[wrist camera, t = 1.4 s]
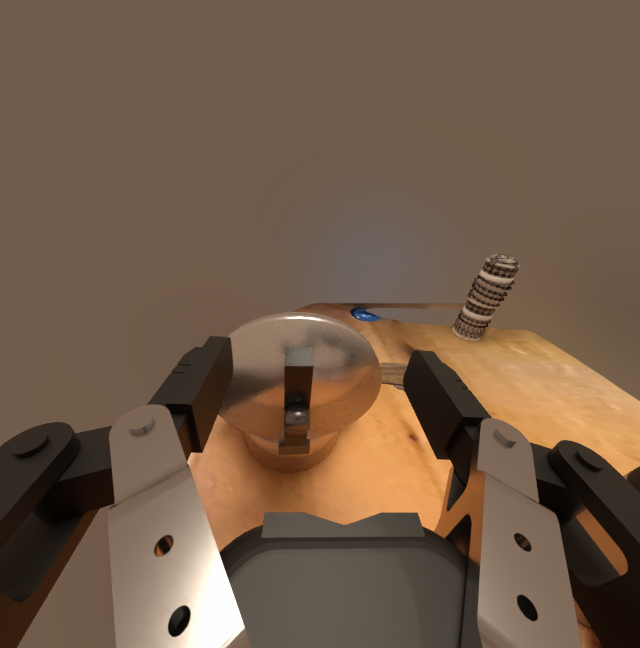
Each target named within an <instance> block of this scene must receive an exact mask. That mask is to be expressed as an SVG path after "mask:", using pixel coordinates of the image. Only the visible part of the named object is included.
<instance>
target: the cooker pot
mask: <svg viewBox="0 0 640 648" xmlns="http://www.w3.org/2000/svg"><path fill="white" fill-rule="evenodd" d="M338 433H339V431H336V432H334V433H331V434H328V435H324V436H321V437H316V438H311V439H307V442H306V446H285V447H284V440H275V439H268V438H263V437H259V436H255V435H252V434H249V433H246V432H245V437H246V442H247V445H248V448H249V449H250V451H251V453H252V454H253V456H254V457H255V458H256V459H257V460H258V461H259V462H260V463H262V464H263V465H265V466H267V467H269V468H271V469H273V470H277V471H281V472H299V471H303V470H307V469H309V468H311V467H314V466H315V465H317V464H319V463H320V462H321V461H323V460H324V459H325V458H326V457H327V456H328V455H329V453H330V452H331V451H332V449H333V447H334V445H335V443H336V440H337V437H338Z"/></svg>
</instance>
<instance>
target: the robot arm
mask: <svg viewBox="0 0 640 648" xmlns="http://www.w3.org/2000/svg"><path fill="white" fill-rule="evenodd" d="M232 376H233V356H232V345H231V339H230V337H218V336H210V337H209V338H208V340H207V341H206V343H205V344H204V346H203V347H202V348H200V347H195V348H194V349H192V350H191V351H189V352H188V353H186V354H185V355H184V356H183V357H182V359H181V360H180V361H179V363H178V365H177V366H176V367H175V368H174V369H173V371H172V373H171V374H170V375H169V376H168V377H167V379H166V380H165V381H164V383H163V384H162V385H161V387H160V388H159V390H158V391H157V392H156V394H155V395H154V396H153V397H152V399H151V400H150V402H149V403H148V404H147V405H145V406H142V407H139V408H136V409H134V410H131V411H130V412H128V413H126V414H125V415H123V416H122V417H121V418H120V419H118V420H117V421H116V422H115V424H114V425H113V426H109V427H105V428H100V429H95V430H90V431H86V432H81V433H76V434H75V432H74V431H73V429H72V427H71V426H70V425H68V424H66V423H62V422H55V423H47V424H43V425H39V426H36V427H33V428H31V429H28V430H26V431H24V432H22V433H20V434H18V435H16V436H15V437H13V438H11V439H10V440H9V441H7V442H6V443H4V444H3V445H2V446H1V447H0V648H17V646H18V645H19V643H20V641H21V639H22V638H23V636H24V634H25V632H26V631H27V629H28V628H29V626H30V624H31V623H32V621H33V619H34V618H35V616H36V614H37V613H38V611H39V609H40V608H41V606H42V604H43V602H44V601H45V599H46V598H47V596H48V594H49V592H50V591H51V589H52V588H53V586H54V584H55V582H56V581H57V579H58V577H59V576H60V574H61V572H62V571H63V569H64V567H65V566H66V564H67V562H68V561H69V559H70V557H71V556H72V554H73V552H74V551H75V549H76V547H77V546H78V544H79V542H80V541H81V539H82V537H83V536H84V534H85V532H86V531H87V529H88V527H89V525H90V524H91V522H92V520H93V519H94V517H95V515H96V514H97V512H98V510H99V509H100V508H102V507H105V506H108V505H112V504H114V506H112V507H111V508H110V509H109V513H108V528H109V529H108V530H109V544H110V559H111V574H112V590H113V605H114V620H115V635H116V648H582V643H581V638H580V633H579V627H578V622H577V620H578V621H579V622H580V623H582V624H583V625H585V626H587V627H589V628H591V629H593V631H594V632H595V634H596V636H597V637H598V639H599V641H600V642H601V644H602V646H603V647H604V648H640V466H639V467H638V468H636V469H634V470H633V471H631V472H630V473H628V474H626V475H625V476H622V475H621V474H620V473H619V472H618V471H617V470H616V469H615V468H613V467H612V466H611V465H610V464H609V463H608V462H607V461H606V460H605V459H604V458H602V457H601V456H600V455H598V454H597V453H595V452H594V451H592V450H591V449H589V448H587V447H585V446H583V445H581V444H579V443H576V442H573V441H568V440H563V441H560V442H559V443H558V444H557V445H556V446H555V447H554V448H553V449H550V448H547V447H543V446H540V445H537V444H533V443H530V442H529V441H528V440H527V439H526V438H525V436H524V435H523V434H522V433H521V432H519V431H518V430H517V429H516V428H514V427H513V426H511V425H509V424H508V423H506V422H503V421H501V420H498V419H493V418H492V417H491V416H490V415H489V414H488V412H487V411H486V410H485V409H484V407H483V406H482V405H481V404H480V402H479V401H478V400H477V399H476V397H475V396H474V395H473V394H472V392H471V391H470V390H468V387H467V386H466V385H465V384H464V382H462V380H461V378H460V377H459V376H458V375H457V373H456V372H455V371H454V370H452V369H451V368H450V367H448V366H447V365H446V364H444V363H442V362H441V361H440V359H439V358H438V357H437V355H436V354H435V353H434V352H433V351H420V350H415V351H414V352H413V353H412V355H411V358H410V361H409V363H408V366H407V369H406V371H405V374H404V377H403V387H404V390H405V392H406V394H407V397H408V399H409V401H410V403H411V405H412V407H413V409H414V411H415V413H416V416H417V418H418V420H419V422H420V424H421V426H422V428H423V430H424V432H425V435H426V437H427V439H428V441H429V443H430V445H431V447H432V449H433V451H434V454H435V456H436V458H437V459H444V460H451V462H452V464H453V465H452V467H451V468H450V471H449V476H448V481H447V486H446V491H445V496H444V501H443V506H442V511H441V516H440V519H439V522H438V524H437V526H436V529H435V531H434V532H433V531H431V530H429V529H427V528H425V527H422V525H421V522H420V519H419V516H418V513H379V514H376V515H374V516H371V517H368V518H365V519H362V520H359V521H357V522H354V523H351V524H348V525H342V524H338V523H335V522H332V521H329V520H326V519H323V518H319V517H316V516H313V515H310V514H307V513H304V512H265V514H264V521H263V525H261V526H258V527H255V528H253V529H251V530H249V531H247V532H245V533H243V534H242V535H240V536H239V537H237V538H236V539H234V540H233V541H232V542H231V543H229V544H228V545H227V546H226V547H224V548H223V549H222V550H221V551H220V553H219V552H218V549H217V546H216V543H215V540H214V537H213V534H212V531H211V528H210V525H209V522H208V520H207V517H206V514H205V511H204V508H203V505H202V502H201V499H200V496H199V493H198V490H197V488H196V485H195V482H194V479H193V476H192V473H191V470H190V467H189V465H188V463H187V461H188V458H189V456H190V454H191V452H195V453H202V452H203V450H204V447H205V445H206V442H207V440H208V437H209V435H210V432H211V430H212V427H213V425H214V422H215V420H216V417H217V415H218V412H219V410H220V407H221V405H222V402H223V400H224V397H225V395H226V393H227V390H228V388H229V385H230V383H231V380H232Z"/></svg>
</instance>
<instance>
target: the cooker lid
mask: <svg viewBox="0 0 640 648" xmlns="http://www.w3.org/2000/svg"><path fill="white" fill-rule="evenodd" d="M227 337H230V339H231V345H232V356H233V376H232V380H231V383H230V385H229V388H228V390H227V393H226V395H225V397H224V400H223V402H222V405H221V407H220V410H219V412H218V415H220V416H221V417H222V418H223V419H224V420H225V421H226V422H228V423H229V424H231V425H232V426H234V427H236V428H238V429H239V430H242V431H244V432H246V433H249V434H252V435H255V436H259V437H263V438H268V439H275V440H284V447H285V446H306V442H307V439H311V438H316V437H321V436H324V435H328V434H331V433H334V432H336V431H339V430H341V429H343V428H345V427H347V426H349V425H350V424H352V423H353V422H355V421H356V420H358V419H359V418H360V417H361V416H363V415H364V414H365V413H366V412H367V411H368V410H369V408H370V407H371V406H372V405H373V403H374V401H375V400H376V398H377V396H378V394H379V391H380V387H381V382H382V373H381V367H380V364H379V361H378V359H377V356H376V354H375V352H374V350H373V348H372V346H371V345H370V343H369V342H368V341H367V340H366V338H365V337H364V336H363V335H362V334H360V333H359V332H358V331H357V330H356V329H354V328H352V327H351V326H349V325H348V324H346V323H344V322H342V321H339V320H337V319H334V318H331V317H328V316H325V315H320V314H315V313H305V312H286V313H279V314H273V315H269V316H265V317H261V318H258V319H255V320H253V321H251V322H248V323H246V324H244V325H243V326H241V327H239V328H237V329H236V330H234V331H233V332H232V333H230V334H229V335H228V336H227Z"/></svg>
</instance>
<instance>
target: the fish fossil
mask: <svg viewBox="0 0 640 648" xmlns="http://www.w3.org/2000/svg"><path fill="white" fill-rule="evenodd" d="M380 365H381V373H382V382H381V383H382V384H390V385H394V387H396V388H397V389H400V390H403V391H405V390H404V387H403V377H404V374H405V371H406V369H407V366H408V364H400V363H381V364H380Z"/></svg>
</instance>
